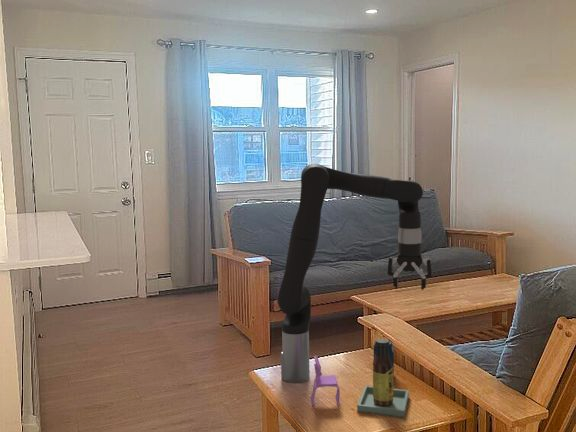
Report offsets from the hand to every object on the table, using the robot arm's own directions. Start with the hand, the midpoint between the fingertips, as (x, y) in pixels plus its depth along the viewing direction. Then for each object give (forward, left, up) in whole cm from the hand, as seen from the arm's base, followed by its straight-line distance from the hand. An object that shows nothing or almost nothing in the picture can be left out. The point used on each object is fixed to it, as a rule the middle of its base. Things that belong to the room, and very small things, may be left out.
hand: (409, 288), depth 182 cm
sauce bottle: (-6, -20, -32) cm, 38 cm away
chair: (-24, -23, -32) cm, 46 cm away
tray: (-6, -20, -32) cm, 38 cm away
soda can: (-9, +2, -32) cm, 34 cm away
